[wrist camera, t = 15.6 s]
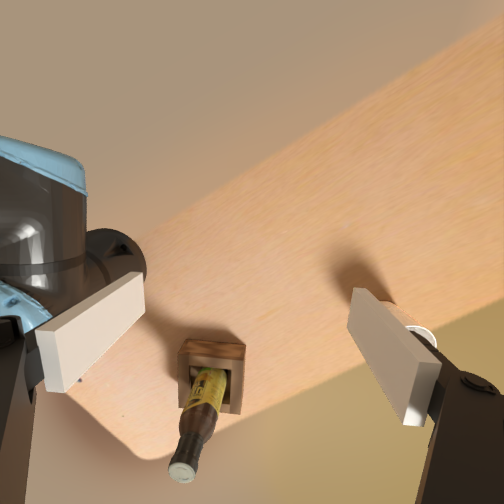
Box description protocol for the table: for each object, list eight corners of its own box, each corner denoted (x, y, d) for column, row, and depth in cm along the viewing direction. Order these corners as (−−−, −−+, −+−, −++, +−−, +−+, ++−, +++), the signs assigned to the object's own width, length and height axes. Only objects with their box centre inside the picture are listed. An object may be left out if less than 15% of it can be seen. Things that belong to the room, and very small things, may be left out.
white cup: (353, 323, 49) (373, 356, 39) (376, 291, 47) (403, 317, 37) (388, 340, 49) (416, 376, 40) (411, 308, 47) (447, 339, 38)
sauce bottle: (210, 352, 52) (175, 447, 33) (234, 368, 53) (213, 470, 34) (194, 372, 54) (152, 474, 35) (218, 387, 54) (189, 495, 35)
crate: (186, 388, 56) (178, 407, 51) (186, 339, 53) (177, 354, 48) (242, 395, 55) (240, 414, 50) (246, 345, 52) (243, 360, 47)
